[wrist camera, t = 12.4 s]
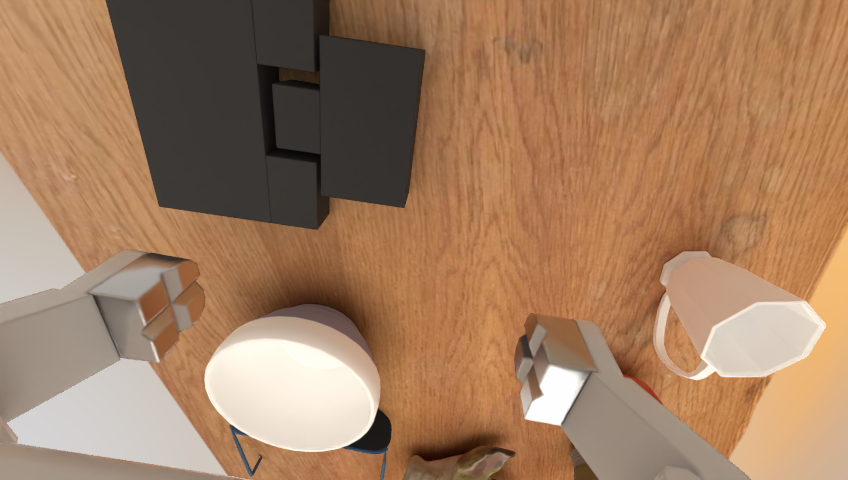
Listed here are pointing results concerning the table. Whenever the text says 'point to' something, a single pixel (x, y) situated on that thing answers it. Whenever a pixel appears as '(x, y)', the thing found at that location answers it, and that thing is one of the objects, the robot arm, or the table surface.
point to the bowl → (296, 379)
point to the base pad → (222, 103)
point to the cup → (733, 318)
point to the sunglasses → (368, 443)
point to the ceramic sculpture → (460, 465)
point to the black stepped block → (356, 118)
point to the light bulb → (581, 467)
